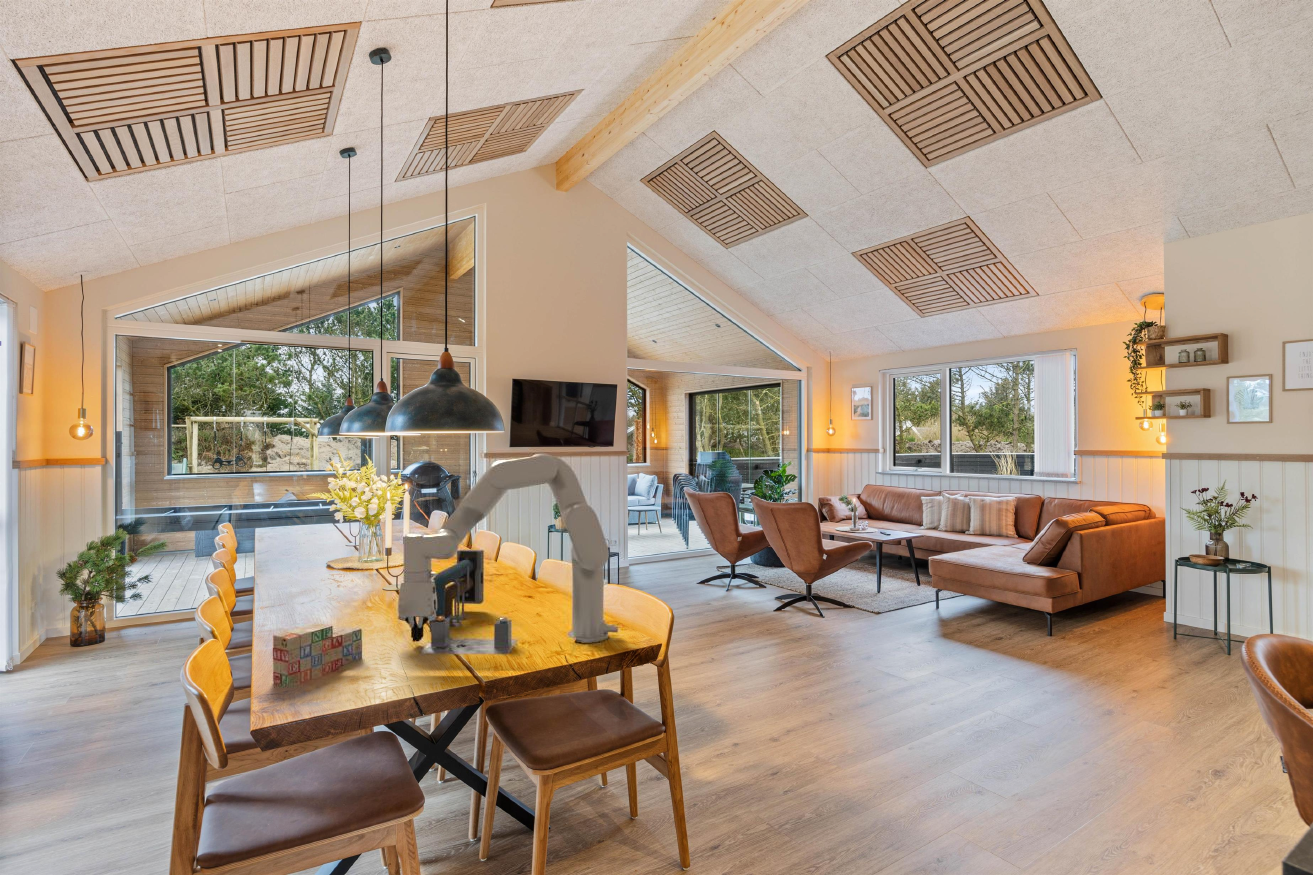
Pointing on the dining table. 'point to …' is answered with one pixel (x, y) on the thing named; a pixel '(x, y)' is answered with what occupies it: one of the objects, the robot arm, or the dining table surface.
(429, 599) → the robot arm
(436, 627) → the block
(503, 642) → the fixed leg
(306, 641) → the stack of blocks
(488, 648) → the hole plate
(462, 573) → the curved pipe assembly
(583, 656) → the dining table surface
